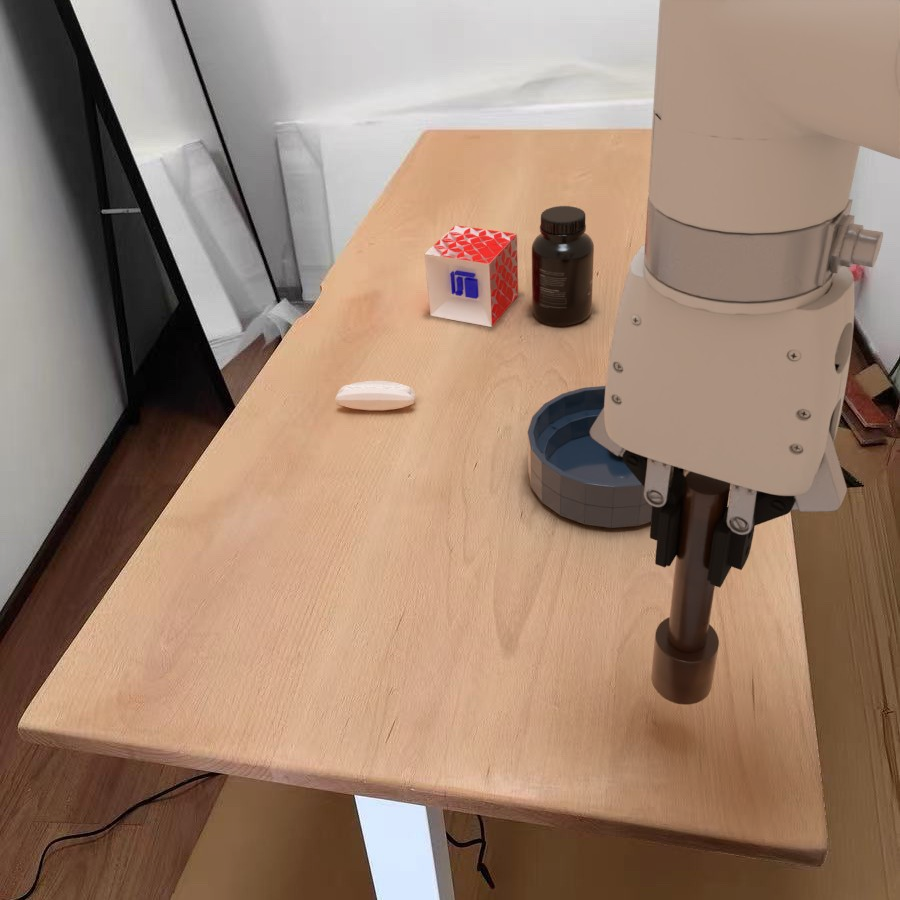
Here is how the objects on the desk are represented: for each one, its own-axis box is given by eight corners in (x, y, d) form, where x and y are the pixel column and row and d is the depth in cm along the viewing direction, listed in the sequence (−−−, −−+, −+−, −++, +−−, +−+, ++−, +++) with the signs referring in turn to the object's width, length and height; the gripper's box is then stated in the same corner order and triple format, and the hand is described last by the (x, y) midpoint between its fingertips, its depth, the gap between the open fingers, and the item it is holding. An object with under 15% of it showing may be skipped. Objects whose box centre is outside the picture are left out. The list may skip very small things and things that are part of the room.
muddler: (720, 671, 53) (755, 470, 43) (699, 714, 51) (731, 513, 41) (664, 648, 55) (686, 450, 45) (641, 689, 53) (659, 490, 43)
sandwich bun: (414, 415, 86) (411, 392, 84) (335, 415, 87) (331, 392, 85) (418, 397, 88) (415, 374, 87) (341, 397, 89) (337, 374, 88)
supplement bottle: (603, 315, 99) (608, 215, 91) (555, 334, 96) (556, 233, 89) (567, 292, 103) (569, 196, 96) (520, 310, 101) (518, 212, 94)
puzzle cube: (518, 295, 104) (517, 233, 99) (492, 327, 98) (489, 263, 93) (458, 285, 107) (454, 225, 102) (429, 315, 101) (423, 253, 96)
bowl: (712, 456, 78) (719, 412, 75) (650, 553, 69) (655, 507, 66) (572, 413, 84) (573, 371, 81) (500, 497, 76) (498, 453, 72)
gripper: (974, 235, 34) (872, 566, 45) (599, 180, 41) (592, 475, 53) (938, 323, 29) (834, 668, 40) (522, 242, 37) (532, 552, 48)
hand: (697, 557), depth 46 cm, fingers closed on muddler, 2 cm apart
